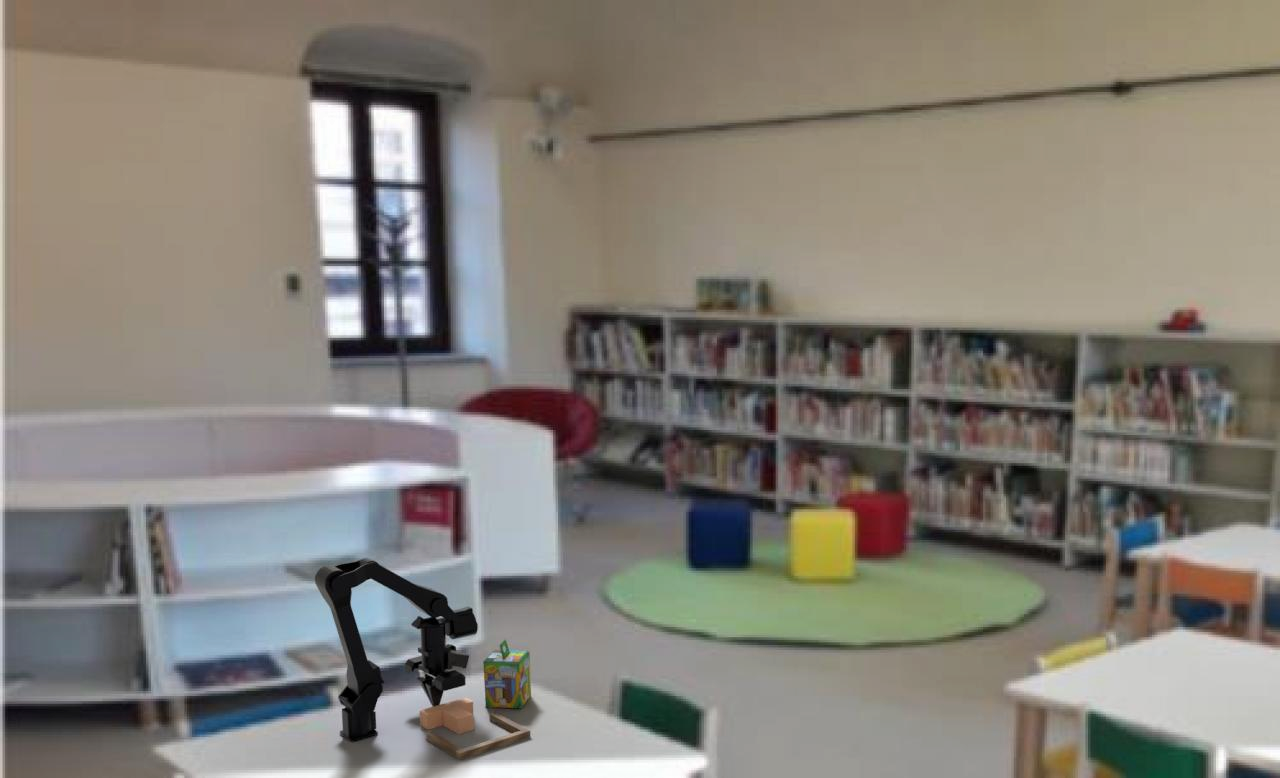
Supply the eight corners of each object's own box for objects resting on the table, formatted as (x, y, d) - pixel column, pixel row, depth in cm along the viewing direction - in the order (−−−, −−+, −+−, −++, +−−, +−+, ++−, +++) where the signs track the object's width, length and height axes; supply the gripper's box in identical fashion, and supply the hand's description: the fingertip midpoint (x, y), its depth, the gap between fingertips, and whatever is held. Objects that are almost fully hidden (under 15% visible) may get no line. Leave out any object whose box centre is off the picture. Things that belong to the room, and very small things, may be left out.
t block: (442, 738, 250) (442, 723, 249) (420, 725, 258) (419, 710, 257) (489, 724, 257) (488, 709, 257) (465, 711, 265) (465, 697, 265)
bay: (459, 760, 238) (459, 753, 238) (426, 739, 249) (426, 733, 249) (530, 737, 249) (530, 730, 249) (495, 718, 261) (495, 712, 260)
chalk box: (521, 710, 266) (519, 649, 264) (484, 708, 268) (481, 647, 266) (532, 695, 275) (530, 636, 273) (496, 693, 277) (494, 635, 275)
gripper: (484, 645, 260) (486, 710, 262) (443, 627, 275) (446, 689, 276) (441, 655, 253) (444, 722, 255) (402, 637, 268) (405, 700, 269)
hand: (436, 707), depth 264 cm, fingers closed
